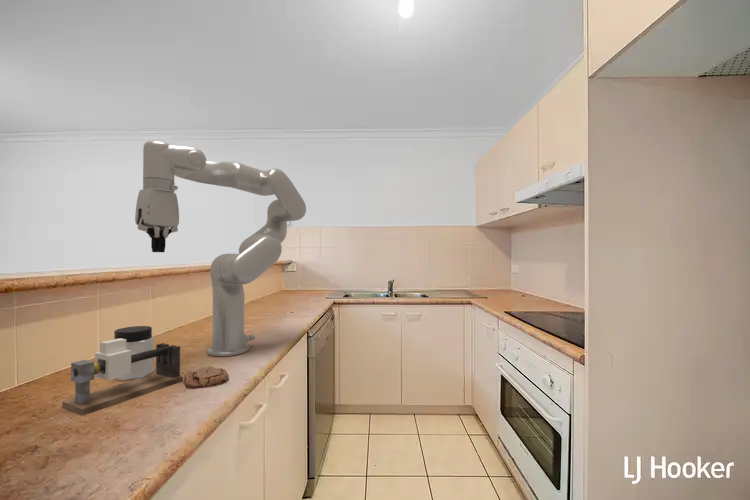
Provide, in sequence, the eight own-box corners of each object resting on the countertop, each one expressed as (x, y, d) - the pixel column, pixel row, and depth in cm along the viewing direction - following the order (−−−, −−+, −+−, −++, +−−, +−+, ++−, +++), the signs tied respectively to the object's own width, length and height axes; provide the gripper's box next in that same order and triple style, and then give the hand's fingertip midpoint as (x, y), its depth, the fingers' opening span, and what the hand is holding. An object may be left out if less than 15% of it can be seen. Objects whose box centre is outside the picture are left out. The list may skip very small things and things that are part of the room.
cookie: (221, 388, 84) (222, 376, 84) (174, 390, 83) (174, 377, 83) (234, 374, 94) (234, 363, 94) (192, 376, 93) (192, 364, 93)
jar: (110, 383, 86) (111, 334, 87) (112, 373, 93) (113, 328, 93) (153, 376, 91) (154, 329, 92) (153, 367, 98) (153, 324, 98)
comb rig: (162, 375, 92) (162, 339, 92) (182, 380, 88) (182, 343, 88) (62, 407, 73) (62, 361, 73) (82, 415, 69) (83, 367, 69)
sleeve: (117, 370, 81) (117, 337, 81) (131, 374, 79) (131, 339, 79) (94, 376, 77) (95, 341, 77) (108, 380, 75) (108, 344, 75)
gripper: (175, 192, 108) (175, 252, 108) (122, 183, 95) (121, 252, 94) (191, 190, 105) (191, 252, 104) (139, 180, 91) (138, 252, 91)
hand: (158, 252), depth 99 cm, fingers closed
